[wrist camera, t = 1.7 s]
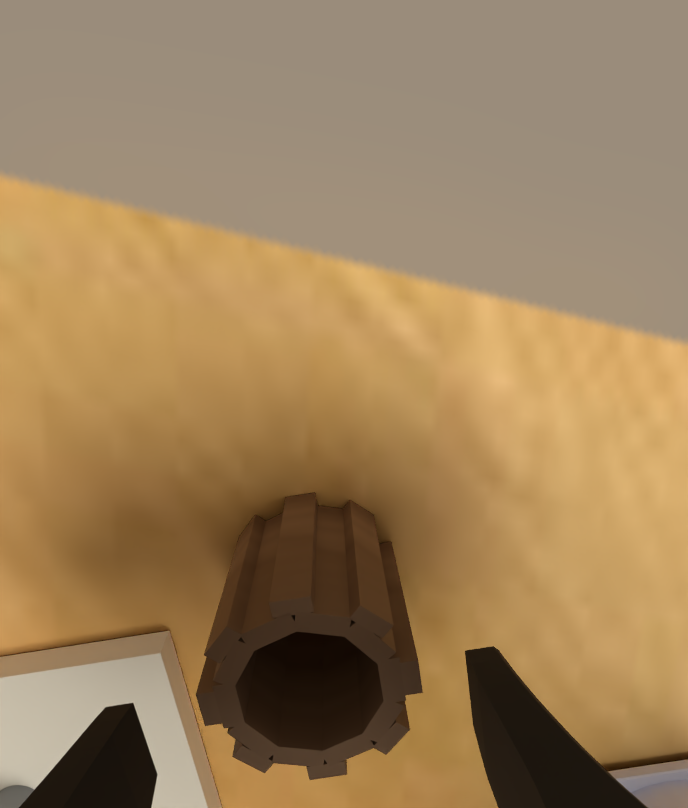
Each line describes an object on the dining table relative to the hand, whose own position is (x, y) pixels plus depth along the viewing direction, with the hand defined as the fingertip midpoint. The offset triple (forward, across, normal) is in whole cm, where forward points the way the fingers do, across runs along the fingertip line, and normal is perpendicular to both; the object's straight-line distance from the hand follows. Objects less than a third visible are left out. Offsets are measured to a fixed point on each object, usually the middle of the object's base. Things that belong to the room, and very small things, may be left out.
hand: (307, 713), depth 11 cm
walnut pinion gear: (+6, 0, 0) cm, 6 cm away
